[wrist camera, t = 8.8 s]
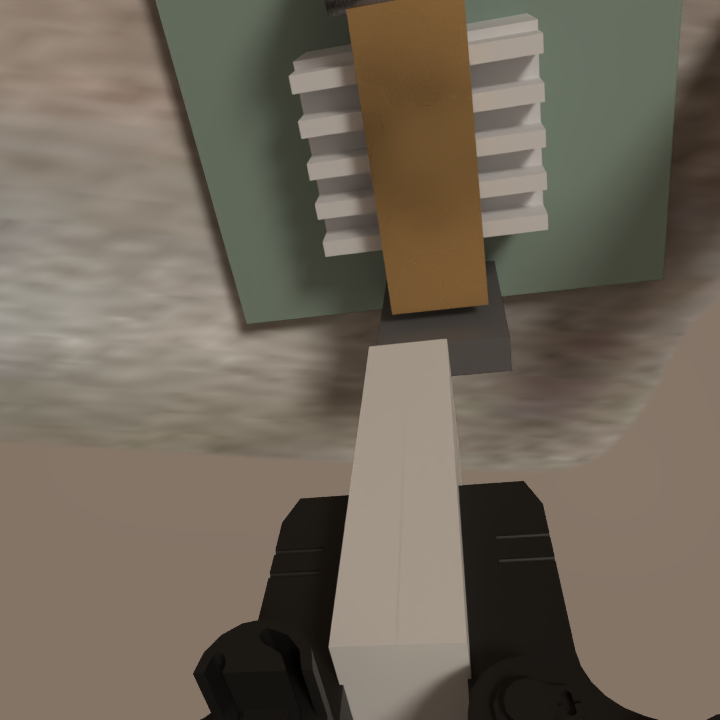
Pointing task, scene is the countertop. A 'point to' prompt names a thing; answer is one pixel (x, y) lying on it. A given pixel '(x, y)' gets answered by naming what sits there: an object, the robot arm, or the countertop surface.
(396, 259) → the strap
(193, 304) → the countertop surface
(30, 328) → the countertop surface
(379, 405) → the robot arm
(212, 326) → the countertop surface
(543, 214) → the clamp base
